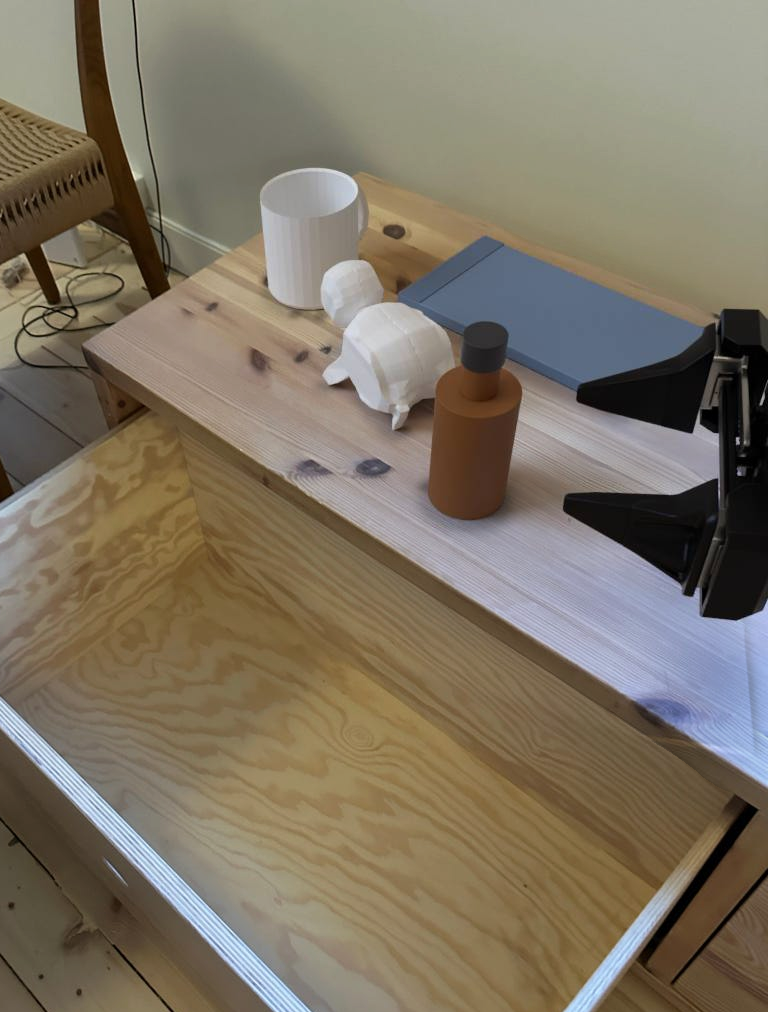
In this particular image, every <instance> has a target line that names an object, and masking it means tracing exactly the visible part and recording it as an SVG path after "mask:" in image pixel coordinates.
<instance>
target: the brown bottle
mask: <svg viewBox="0 0 768 1012" xmlns="http://www.w3.org/2000/svg"><path fill="white" fill-rule="evenodd" d="M508 337H509V334H508V331H507V330H506V328H505V327H503V326H502V325H500V324H498V323H495V322H489V321H481V322H476V323H473V324H470V325H469V326H467V327H466V328H465V330H464V331H463V335H462V336H461V348H460V358H459V360H460V363H461V365H458V366H455V368H453V369H451V370H449V371H447V372H446V373H445V374H444V375H443V376H441V378H440V379H439V381H438V383H437V385H436V393H435V398H434V407H433V408H434V409H433V419H432V420H433V422H432V435H431V447H430V459H429V460H430V461H429V473H428V486H427V487H428V488H427V496H428V499H429V501H430V503H431V505H432V506H433V507H434V508H435V509H436V510H437V511H439V512H440V513H441V514H443V515H445V516H447V517H450V518H452V519H457V520H465V521H466V520H467V521H468V520H471V521H473V520H479V519H483V518H485V517H488V516H490V515H492V514H493V513H495V512H496V511H497V510H499V508H500V507H501V506H502V504H503V503H504V500H505V497H506V491H507V485H508V478H509V475H510V467H511V463H512V462H511V461H512V456H513V450H514V449H513V448H514V443H515V438H516V432H517V426H518V420H519V415H520V409H521V404H522V398H523V387H522V384H521V383H520V381H519V379H518V378H517V376H515V375H514V373H512V372H510V371H509V370H507V369H505V368H503V366H504V365H505V362H506V358H507V357H506V351H507V344H508Z"/></svg>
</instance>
